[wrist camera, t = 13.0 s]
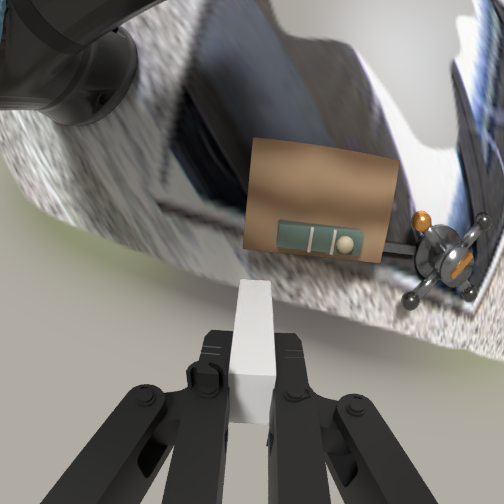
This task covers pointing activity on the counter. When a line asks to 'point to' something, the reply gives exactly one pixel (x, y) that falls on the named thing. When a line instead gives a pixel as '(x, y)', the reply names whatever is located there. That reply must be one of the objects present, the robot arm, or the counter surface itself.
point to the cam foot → (422, 248)
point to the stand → (318, 201)
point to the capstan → (446, 259)
